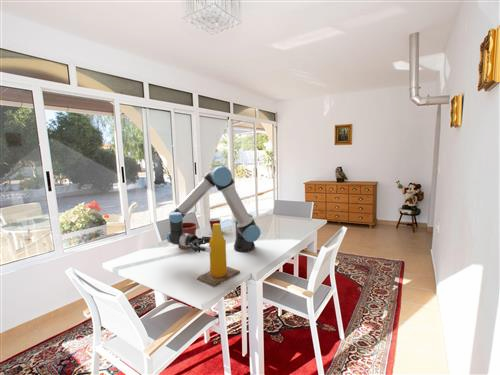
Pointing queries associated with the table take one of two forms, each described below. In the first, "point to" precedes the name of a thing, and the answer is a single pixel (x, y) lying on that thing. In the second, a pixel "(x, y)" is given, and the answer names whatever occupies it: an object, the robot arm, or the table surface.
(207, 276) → the walnut board
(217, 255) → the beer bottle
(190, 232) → the flower pot
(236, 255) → the table surface
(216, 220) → the plastic cup
